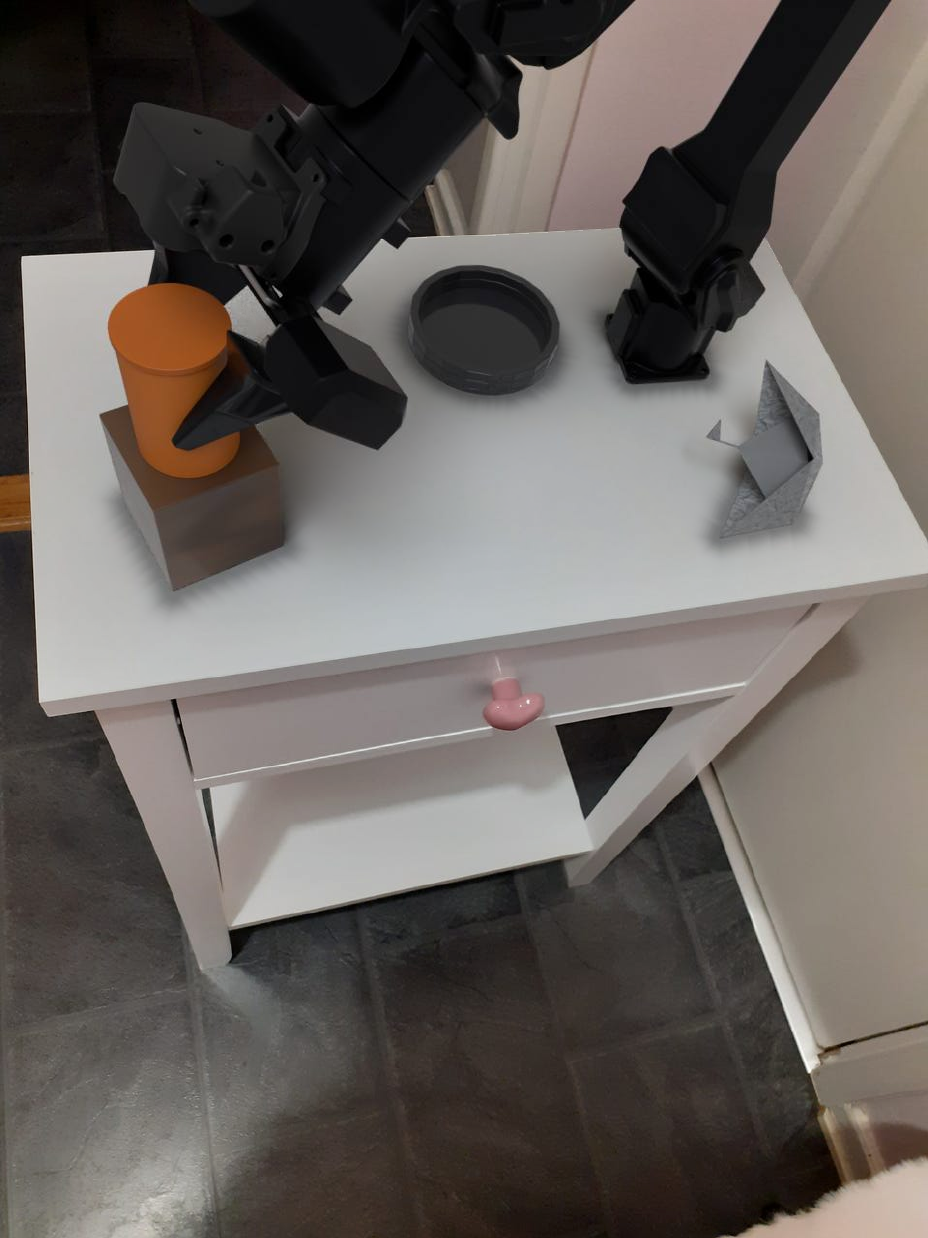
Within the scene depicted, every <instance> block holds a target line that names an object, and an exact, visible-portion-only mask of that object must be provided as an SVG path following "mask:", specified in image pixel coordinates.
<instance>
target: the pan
mask: <svg viewBox="0 0 928 1238" xmlns="http://www.w3.org/2000/svg"><path fill="white" fill-rule="evenodd" d="M560 328H561V323H560V320H559V317H558V314H557V312H556V308H555V307H554V305H553V303H552V302H551V301H550V299H549V298H548V297H547V296H546V295H545V293H544V292H543V291H542V289H541V288H540V289H539V288H538V287H537V286H536V285H534V284H533V283H532V282H530V281H529V280H527V279H526V278H524V277H522V276H520V275H518V274H516V273H513V272H511V271H509V270H507V269H503V268H500V267H496V266H495V267H494V266H489V265H485V264H464V265H463V264H461V265H455V266H452V267H448V268H445V269H441V270H439V271H436V272H435V273H433V274H432V275H430V276H428V277H427V278H425V280H423V281H422V282H421V284H420V285H419V286H418V288H417V289H416V291H415V292H414V293H413V295H412V298H411V303H410V308H409V314H408V322H407V337H408V343H409V346H410V348H411V351H412V353H413V355H414V357H415V358H416V360H417V361H418V362H419V364H420V366H422V367H423V368H424V369H425V371H427V372H428V373H429V374H430V375H432V376H433V377H434V378H436V379H437V380H439V381H440V382H442V383H444V384H446V385H447V386H450V387H452V388H454V389H457V390H460V391H464V392H467V393H471V394H477V395H485V396H499V395H507V394H512V393H516V392H519V391H521V390H524V389H526V388H528V387H530V386H532V385H533V384H535V383H536V382H538V381H539V380H540V379H541V378H542V377H543V376H544V375H545V374H546V372H547V371H548V369H549V367H550V365H551V363H552V360H553V359H554V356H555V353H556V350H557V348H558V344H559V341H560V330H561V329H560Z"/></svg>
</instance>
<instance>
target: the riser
mask: <svg viewBox="0 0 928 1238" xmlns="http://www.w3.org/2000/svg"><path fill="white" fill-rule="evenodd" d="M98 416H99V420H100V423H101V426H102V430H103V434H104V437H105V441H106V444H107V448H108V451H109V454H110V458H111V461H112V465H113V468H114V471H115V476H116V478H117V479H116V480H117V482H118V485H119V489H120V492H121V495H122V496H121V497H122V499H123V502H124V504H125V507H126V508H127V510H128V512H129V514H130V515H131V517H132V520H133V521H134V523H135V525H136V527H137V528H138V530H139V532H140V533H141V535H142V538H143V540H144V541H145V543H146V545H147V547H148V549H149V551H150V552H151V554H152V556H153V559H155V561H156V563H157V565H158V567H159V569H160V570H161V572H162V574H163V576H164V578H165V580H166V581H167V583H168V585H169V587H170V589H171V591H173V592H175V591H177V590H180V589H182V588H184V587H187V586H189V585H191V584H192V585H193V584H194V583H196V582H199V581H201V580H204V579H206V578H208V577H211V576H214V575H216V574H218V573H221V572H223V571H225V570H228V569H230V568H233V567H235V566H238V565H240V564H242V563H244V562H247V561H249V560H252V559H254V558H257V557H259V556H262V555H264V554H267V553H269V552H272V551H273V550H276V549H279V548H282V547H283V545H284V542H283V540H284V539H283V515H282V514H283V513H282V489H281V466H280V465H281V463H280V462H279V460H278V459H277V457H276V456H275V454H274V453H273V451H272V449H271V448H270V446H269V444H268V443H267V442H266V440H265V438H264V436H263V435H262V434H261V432H260V431H259V429H258V428H257V426H256V424H255V425H253V426H250V427H248V428H246V429H243V430H241V431H240V444H239V448H238V451H237V453H236V455H235V456H234V458H233V459H232V460H231V461H230V462H229V463H228V464H227V465H226V466H225V467H224V468H222V469H221V470H219V471H217V472H215V473H213V474H210V475H207V476H203V477H198V478H178V477H173V476H170V475H166V474H164V473H162V472H160V471H158V470H156V469H155V468H153V467H152V466H151V465H150V464H149V463H148V462H147V461H146V460H145V459H144V458H143V456H142V454H141V452H140V450H139V447H138V443H137V438H136V434H135V430H134V426H133V422H132V418H131V414H130V410H129V406H128V404H125V405H122V406H119V407H115V408H113V409H109V410H107V411H104V412H101V413H99V415H98Z"/></svg>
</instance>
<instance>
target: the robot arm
mask: <svg viewBox="0 0 928 1238" xmlns="http://www.w3.org/2000/svg"><path fill="white" fill-rule="evenodd" d="M187 1H188V3H189V4H190V5H191V6H192V7H193V8H194V9H195V10H196V11H197V12H199V13H200V14H201V15H202V16H203V17H205V18H206V20H208V21H209V22H211V24H212V25H214V26H215V27H216V28H218V29H219V30H220V31H221V32H222V33H223V34H225V36H226V37H228V38H229V39H230V40H231V41H233V43H235V44H236V45H238V46H239V48H241V49H242V50H243V51H245V52H246V54H247V55H249V56H251V57H252V58H253V59H254V60H255V61H256V62H258V63H259V64H260V65H261V66H262V67H264V68H265V69H266V70H267V71H268V72H269V73H270V74H272V75H273V76H274V77H276V79H278V80H279V81H280V82H281V83H282V84H284V85H285V86H286V87H287V88H288V89H290V90H291V91H292V92H293V93H294V94H296V95H297V97H299V98H300V99H302V100H303V101H305V102H306V103H308V105H307V107H306V108H305V109H304V110H303V112H302V113H301V114H300V116H298V115H296V114H295V113H294V112H293V111H291V109H289V108H288V107H286V106H285V105H284V104H283V103H279V105H278V106H277V108H275V109H274V108H271V109H269V110H267V111H266V112H265V114H264V115H263V117H262V118H261V119H260V120H259V121H258V123H257V124H256V125H255V126H253V127H252V128H251V129H250V130H245V129H242V128H239V127H234V126H233V125H230V124H229V123H226V122H225V121H223V120H220V119H217V118H213V117H210V116H205V115H201V114H196V113H192V112H188V111H183V110H180V109H175V108H172V107H167V106H164V105H159V104H155V103H150V102H142V101H141V102H136V103H135V104H133V106H132V110H131V113H130V118H129V121H128V125H127V129H126V131H125V135H124V137H123V139H122V140H121V142H120V143H119V144H118V146H117V148H118V150H119V151H120V154H119V158H118V161H117V163H116V164H117V165H116V168H115V171H114V174H113V175H114V176H113V185H114V186H115V188H116V189H117V191H118V192H119V194H123V195H125V197H126V199H127V200H128V201H129V203H130V205H131V206H132V208H133V209H134V211H135V212H136V214H137V215H138V218H139V224H140V227H141V229H142V230H143V232H144V233H145V235H146V236H148V238H149V239H150V240H151V241H152V244H153V249H154V251H153V252H154V253H153V259H152V264H151V269H150V272H149V277H148V281H147V285H146V286H149V285H154V284H162V283H177V284H184V285H189V286H193V287H196V288H199V289H201V290H204V291H206V292H207V293H209V294H211V295H212V296H214V297H215V298H216V299H218V300H219V301H220V302H221V303H222V304H223V306H224V307H225V306H226V305H227V304H228V303H229V302H230V301H231V300H233V299H234V298H235V297H236V296H237V295H239V294H240V293H241V292H242V291H243V290H244V289H245V288H246V287H248V289H249V290H250V291H251V293H252V294H253V296H254V297H255V299H256V300H257V302H258V303H259V305H260V306H261V307H262V309H263V311H264V312H265V313H266V315H267V317H268V318H269V319H270V321H271V322H272V324H273V325H274V327H275V329H274V330H273V331H272V332H271V333H270V334H266V335H265V336H264V338H263V339H262V340H261V341H260V342H258V341H255V340H253V339H252V338H249V337H247V336H245V335H242V334H240V333H238V332H236V331H234V330H233V329H232V330H229V329H228V330H227V332H226V340H227V364H226V366H225V367H224V369H223V370H222V371H221V372H220V374H219V375H218V376H217V378H216V379H215V380H214V381H213V383H212V384H211V385H210V386H209V388H208V389H207V390H206V391H205V393H204V394H203V395H202V397H201V398H200V399H199V400H198V402H197V403H196V404H195V405H194V407H193V408H192V409H191V411H190V412H189V413H188V414H187V416H186V417H185V418H184V420H183V421H182V423H181V425H180V426H179V428H178V430H177V431H176V433H175V435H174V436H173V438H172V443H173V445H174V447H175V448H178V449H182V450H186V451H191V450H194V449H196V448H198V447H201V446H203V445H206V444H208V443H211V442H213V441H216V440H218V439H221V438H223V437H226V436H228V435H231V434H233V433H236V432H238V431H241V430H243V429H246V428H248V427H250V426H253V425H255V426H256V425H258V424H261V423H264V422H266V421H268V420H272V419H276V418H278V417H282V416H286V415H289V414H293V415H294V416H296V417H297V418H298V419H299V420H300V421H302V422H303V423H304V424H305V425H307V426H309V427H312V428H315V429H317V430H320V431H323V432H325V433H328V434H331V435H333V436H337V437H339V438H342V439H344V440H347V441H350V442H353V443H356V444H359V445H361V446H364V447H367V448H370V449H372V450H375V451H379V450H380V449H381V448H382V447H384V445H385V444H386V443H387V442H388V441H389V439H391V438H392V437H393V436H394V434H395V433H397V432H398V430H399V429H401V428H402V426H403V424H404V421H405V419H406V414H407V407H408V400H409V397H408V395H407V394H406V393H405V391H404V390H403V388H402V387H401V386H400V385H399V383H398V382H397V380H396V379H395V377H394V376H393V375H392V374H391V372H390V370H389V369H388V368H387V366H386V365H385V364H384V362H383V361H382V360H381V358H380V356H378V354H377V353H376V351H375V350H374V348H373V347H372V346H371V345H370V344H367V343H365V342H364V341H361V340H360V339H358V338H356V337H354V336H352V335H350V334H349V333H347V332H345V331H343V330H341V329H339V328H338V327H335V326H333V325H331V324H330V323H328V322H326V321H325V320H324V319H323V318H322V316H321V314H320V313H319V312H318V311H319V310H320V309H321V308H322V307H323V308H324V309H326V310H328V311H330V312H332V313H334V314H335V315H337V316H341V315H342V313H343V312H344V311H345V310H346V309H347V308H348V307H349V306H350V305H351V303H352V302H353V301H354V299H353V297H352V296H351V295H350V293H349V292H348V291H347V289H346V288H345V287H344V285H343V284H344V283H345V282H346V281H347V279H349V278H350V276H351V275H352V274H353V273H354V271H355V270H356V269H357V268H358V267H359V265H360V264H361V263H362V262H363V261H364V260H365V258H367V256H368V255H369V254H370V253H371V252H372V251H373V249H374V248H375V247H376V246H377V245H378V243H379V242H380V241H381V240H383V241H385V242H386V243H387V244H389V245H390V246H392V247H393V248H395V249H396V250H399V249H400V248H401V247H402V245H403V244H404V243H405V242H406V241H407V239H408V238H409V237H410V236H411V235H412V234H413V232H412V231H411V230H410V228H409V227H408V225H407V224H406V223H405V222H404V220H403V219H402V218H401V217H402V216H403V215H404V214H405V213H406V211H408V209H409V208H410V206H411V205H412V204H413V203H414V201H416V199H418V197H419V196H420V195H421V194H422V192H423V191H425V189H426V188H427V187H428V185H429V184H430V183H431V182H432V181H433V180H434V179H435V178H436V176H437V175H438V174H439V173H440V172H441V170H443V168H444V167H445V166H446V165H447V163H449V162H450V160H451V159H452V158H453V157H454V156H455V154H456V153H458V151H459V150H460V148H461V147H463V145H464V144H465V143H466V142H467V140H468V139H469V138H470V137H471V136H472V135H473V134H474V133H475V131H476V130H477V129H478V128H479V127H480V125H482V123H483V122H484V121H485V120H488V122H489V123H490V124H491V125H492V127H494V129H495V130H496V131H497V132H498V133H499V134H500V135H501V136H502V138H504V139H505V140H507V141H511V140H513V139H515V138H516V137H517V135H518V133H519V129H520V119H521V112H520V103H519V102H520V89H521V85H522V82H523V78H524V73H523V71H522V70H521V69H520V67H518V65H517V64H515V62H514V61H513V60H512V59H514V60H515V61H516V62H518V63H519V64H521V65H523V66H526V67H527V66H529V67H537V68H541V67H542V68H543V69H544V70H546V71H551V70H554V69H557V68H560V67H563V66H565V65H566V64H568V63H569V62H571V61H573V60H574V59H576V58H577V57H579V56H580V55H582V54H583V53H584V52H585V51H586V50H587V49H588V48H590V47H591V46H592V45H593V44H594V43H595V42H596V41H597V40H598V39H599V38H600V37H601V36H602V35H603V34H604V33H605V32H606V31H607V29H609V28H610V27H611V26H612V25H613V24H614V23H615V22H616V21H617V20H618V19H619V18H620V17H621V16H622V15H623V14H624V13H625V12H626V11H627V10H628V9H629V8H630V7H631V6H632V4H633V3H635V2H636V0H187ZM892 1H893V0H779V2H778V4H777V5H776V7H775V9H774V10H773V12H772V14H771V16H770V17H769V19H768V20H767V22H766V23H765V26H764V28H763V29H762V31H761V32H760V34H759V36H758V38H757V39H756V41H755V42H754V44H753V46H752V47H751V49H750V51H749V53H748V55H747V56H746V58H745V60H744V61H743V63H742V65H741V66H740V68H739V70H738V71H737V73H736V75H735V76H734V78H733V80H732V82H731V84H730V85H729V87H728V89H727V90H726V92H725V94H724V95H723V97H722V99H721V100H720V102H719V104H718V106H717V107H716V108H715V110H714V112H713V113H712V115H711V117H710V119H709V121H708V122H707V124H706V125H705V126H704V128H703V129H702V130H700V131H698V132H696V133H695V134H693V135H692V136H690V137H688V138H686V139H685V140H683V141H682V142H679V143H678V144H676V145H675V146H673V147H671V148H669V147H667V146H663V145H660V146H658V147H656V148H655V149H654V150H653V151H652V152H651V153H650V154H649V155H648V157H647V159H646V162H645V164H644V166H643V169H642V171H641V173H640V175H639V177H638V179H637V180H636V182H635V184H634V185H633V187H632V188H631V189H630V191H629V192H628V193H627V194H626V195H625V196H624V198H622V200H621V204H623V205H624V208H623V211H622V213H621V215H620V219H619V224H618V228H619V229H620V230H621V231H620V233H621V237H622V241H623V251H624V253H625V255H626V256H627V257H628V258H631V259H632V260H633V261H634V262H635V263H636V264H637V266H638V267H637V268H636V270H635V272H634V275H633V278H632V280H631V283H630V285H629V287H628V288H624V289H623V290H622V292H621V293H620V297H619V299H618V301H617V304H616V307H615V310H614V313H613V312H611V313H607V314H606V316H605V318H604V325H605V327H606V330H607V332H606V333H607V336H608V339H609V342H610V344H611V348H612V349H613V353H614V355H615V357H616V358H617V359H618V361H619V364H620V368H621V370H622V372H623V375H624V377H625V379H626V381H627V382H628V383H630V384H645V383H661V382H676V381H677V382H678V381H693V380H705V379H707V378H708V377H709V375H710V373H711V369H710V367H709V365H708V361H707V360H706V358H705V354H706V351H707V349H708V347H709V346H710V344H711V342H712V340H713V337H714V336H715V333H716V332H722V333H725V334H726V333H728V332H731V331H732V330H733V328H734V327H735V325H736V323H737V322H738V320H739V319H740V318H743V317H745V316H747V315H748V314H749V312H751V310H752V309H754V308H755V306H756V304H757V303H758V301H759V300H760V299H761V297H762V296H763V295H764V293H765V292H766V287H765V286H764V284H763V282H762V281H761V278H760V277H759V275H758V274H757V272H756V271H755V269H754V267H753V265H752V264H751V261H752V259H753V257H754V256H755V255H756V252H757V251H758V249H759V247H760V246H761V244H762V242H763V240H764V239H765V237H766V236H767V234H768V232H769V230H770V228H771V226H772V219H773V211H774V201H775V193H776V185H777V177H778V172H779V170H780V168H781V166H782V164H783V162H784V161H785V160H786V158H787V157H788V155H789V154H790V152H791V151H792V149H793V148H794V147H795V145H796V143H797V142H798V141H799V139H800V137H801V136H802V134H803V133H804V132H805V130H806V129H807V128H808V126H809V124H810V122H811V121H812V120H813V118H814V116H815V115H816V113H817V112H818V111H819V110H820V107H821V106H822V105H823V103H824V102H825V100H826V99H827V97H828V96H829V94H830V93H831V92H832V90H833V88H834V87H835V85H836V84H837V82H838V81H839V80H840V79H841V76H842V75H843V73H844V72H845V70H846V69H847V67H849V64H850V63H851V62H852V60H853V58H854V57H855V56H856V54H857V53H858V51H859V50H860V48H861V47H862V46H863V44H864V42H865V41H866V40H867V38H868V36H869V35H870V34H871V32H872V30H873V29H874V27H875V26H876V25H877V23H878V21H879V20H880V18H881V17H882V16H883V14H884V13H885V11H886V9H887V8H888V7H889V5H890V4H891V2H892ZM434 9H435V10H434ZM509 56H510V57H509ZM511 58H512V59H511ZM276 290H277V291H278V292H279V293H280V294H281V296H280V295H279V294H278V292H277V291H276Z"/></svg>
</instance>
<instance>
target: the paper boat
mask: <svg viewBox="0 0 928 1238" xmlns="http://www.w3.org/2000/svg"><path fill="white" fill-rule="evenodd" d="M764 361H765V362H764V367H763V374H762V381H761V387H760V388H761V389H760V394H759V402H758V407H757V414H756V415H757V416H756V422H755V427H754V428H755V429H754V435H753V437H751V438H749V439H748V440H746V441H744V442H742V443H740V444H738V445H736V444H733V443H730V442H727V441H724V440H721V431H722V419H719V420H718V422H717V423H716V424H715V425H714V426H713V428H712V429H711V430H710V431H709V432H708V434H707V435H706V436H705V437H706V438H707V439H709V440H712V441H716V442H718V443H720V444H724V445H727V446H731V447H734V448H736V449H737V450H738V453H740V455H741V457H742V459H743V461H744V462H745V464H746V466H747V470H746V472H745V475H744V478H743V480H742V481H741V485H740V486H739V490H738V491H737V495H736V497H735V499H734V502H733V504H732V507H731V509H730V512H729V514H728V517H727V519H726V521H725V524H724V526H723V528H722V530H721V533H720V535H719V539H722V538H728V537H732V536H739V535H743V534H748V533H754V532H759V531H765V530H769V529H773V528H781V527H785V526H790V525H793V524H794V522H795V521H796V519H797V518H798V516H799V515H800V513H801V511H802V509H803V508H804V505H805V504H806V501H807V499H808V497H809V495H810V493H811V491H812V489H813V486H814V483H815V481H816V480H817V477H818V475H819V473H820V471H821V469H822V466H823V464H824V462H823V461H824V459H823V447H822V445H823V444H822V430H821V417H820V413H819V412H818V411H817V410H816V409H815V408H814V406H812V405H811V404H810V402H809V401H807V400H806V399H805V397H803V395H802V394H801V393H799V391H798V390H797V389H796V388H795V387H794V386H793V385H792V384H791V383H790V381H788V379H786V378H785V377H784V376H783V375H782V374H781V372H780V371H778V369H776V368H775V367H774V366H773V364H771V362H769V360H768V359H765V360H764Z"/></svg>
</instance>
